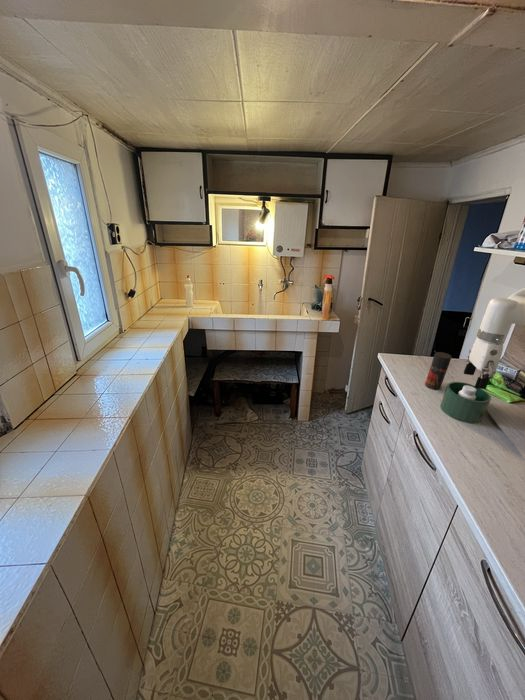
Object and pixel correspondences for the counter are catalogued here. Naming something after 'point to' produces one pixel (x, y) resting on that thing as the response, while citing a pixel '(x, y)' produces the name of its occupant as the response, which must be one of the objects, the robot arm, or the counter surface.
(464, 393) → the supplement bottle
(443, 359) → the deodorant
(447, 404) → the crock
